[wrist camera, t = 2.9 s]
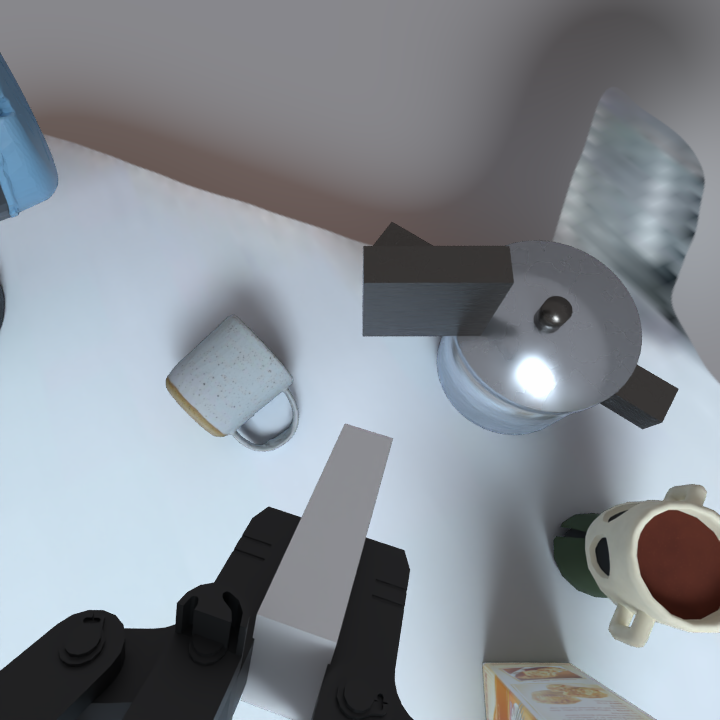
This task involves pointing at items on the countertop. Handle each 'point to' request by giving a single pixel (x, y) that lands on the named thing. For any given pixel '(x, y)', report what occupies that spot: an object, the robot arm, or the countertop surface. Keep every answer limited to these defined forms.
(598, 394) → the lid
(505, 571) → the countertop surface
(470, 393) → the pot
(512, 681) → the coffeecake box
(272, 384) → the ceramic mug
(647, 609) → the character mug
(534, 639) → the countertop surface
